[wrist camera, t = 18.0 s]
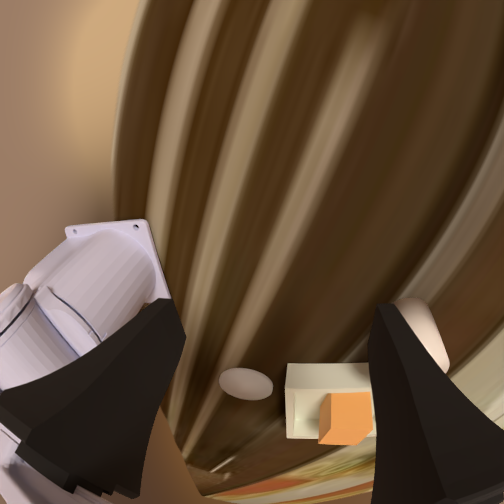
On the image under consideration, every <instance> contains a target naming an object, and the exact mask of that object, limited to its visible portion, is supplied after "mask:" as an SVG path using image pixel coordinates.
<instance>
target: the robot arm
mask: <svg viewBox="0 0 504 504" xmlns="http://www.w3.org/2000/svg"><path fill="white" fill-rule="evenodd" d="M136 225H138V227H139V228H137V227H136ZM65 233H66V236H67V239H66V240H65V241H64V242H62V243H61V244H60V245H59V246H58V247H56V248H55V249H54V250H53V251H52V252H50V253H49V254H48V255H47V256H46V257H45V258H44V259H43V260H41V261H40V262H39V263H38V264H37V265H36V266H35V267H34V268H32V269H31V270H30V272H29V273H28V274H27V276H26V277H25V279H24V282H23V284H20V283H15V284H13V285H11V286H10V287H8V288H7V289H6V290H5V291H3V292H2V293H1V294H0V494H1V495H2V496H3V498H4V499H5V501H6V502H7V504H113V503H111V502H109V501H107V500H105V499H103V498H101V495H102V492H104V493H106V494H108V495H112V494H113V491H115V492H117V493H119V494H122V495H124V496H126V497H129V498H131V499H134V498H137V497H139V496H140V487H141V478H142V471H143V466H144V460H145V455H146V450H147V446H148V442H149V438H150V434H151V430H152V427H153V423H154V420H155V417H156V414H157V411H158V409H159V406H160V404H161V401H162V399H163V397H164V395H165V392H166V390H167V388H168V386H169V383H170V381H171V379H172V377H173V374H174V372H175V370H176V368H177V365H178V363H179V361H180V358H181V354H182V351H183V347H184V344H185V340H186V335H185V332H184V329H183V327H182V324H181V321H180V318H179V316H178V313H177V310H176V307H175V304H174V301H173V299H171V296H170V293H169V290H168V287H167V284H166V281H165V278H164V274H163V271H162V268H161V265H160V262H159V258H158V255H157V252H156V248H155V245H154V241H153V238H152V234H151V231H150V227H149V224H148V222H147V221H146V220H144V219H138V220H126V221H114V222H102V223H92V224H82V225H72V226H67V227H66V228H65ZM144 303H151V304H150V305H148V306H147V307H146V308H145V309H143V310H142V311H141V312H140V313H138V312H139V310H140V309H141V307H142V306H143V304H144ZM137 313H138V314H137ZM368 362H369V375H370V382H371V389H372V396H373V404H374V412H375V421H376V461H375V474H374V484H373V492H372V499H371V504H499V503H501V502H503V500H504V494H503V492H504V430H503V429H501V428H500V427H499V426H498V425H496V424H495V423H494V422H493V421H491V420H490V419H489V418H488V417H487V416H486V415H485V414H484V413H482V412H481V411H480V410H479V409H478V408H477V407H476V406H475V405H474V404H473V403H472V402H471V401H470V400H469V399H468V398H467V397H466V396H465V395H464V394H463V393H462V392H461V391H460V390H459V389H458V388H457V387H456V385H455V384H454V383H453V382H452V381H451V380H450V379H449V378H448V376H447V375H446V374H445V373H444V371H443V370H442V369H441V368H440V366H439V365H438V364H437V363H436V361H435V360H434V359H433V357H432V356H431V355H430V354H429V352H428V351H427V349H426V348H425V347H424V345H423V344H422V343H421V341H420V340H419V338H418V337H417V336H416V334H415V333H414V331H413V330H412V328H411V327H410V326H409V324H408V323H407V321H406V320H405V318H404V317H403V315H402V314H401V312H400V311H399V310H398V308H397V307H396V305H395V304H394V303H393V304H377V306H376V311H375V315H374V320H373V325H372V329H371V333H370V337H369V342H368Z"/></svg>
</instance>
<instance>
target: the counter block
mask: <svg viewBox="0 0 504 504" xmlns="http://www.w3.org/2000/svg"><path fill="white" fill-rule="evenodd" d="M372 430H373V420H372V407H371V396H370V392H355V393H328V394H327V396H326V397H325V399H324V401H323V402H322V404H321V406H320V419H319V438H318V444H333V445H357V444H358V443H359V442H360V441H362V440H363V439H364V438H365V437H366V436H367V435H368V434H369V433H370V432H371V431H372Z"/></svg>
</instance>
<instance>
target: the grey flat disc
mask: <svg viewBox="0 0 504 504" xmlns="http://www.w3.org/2000/svg"><path fill="white" fill-rule="evenodd" d="M219 385H220V387H221V388H222V389H223V390H224V391H225V392H227V393H228V394H230V395H232V396H234V397H237V398H240V399H245V400H260V399H264V398H266V397H268V396H269V395H270V394H271V393H272V390H273V383H272V381H271V380H270V379H269V378H268V377H267V376H266V375H264V374H262V373H260V372H258V371H255V370H251V369H246V368H232V369H228V370H226V371H224V372H222V374H221V375H220V378H219Z"/></svg>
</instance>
